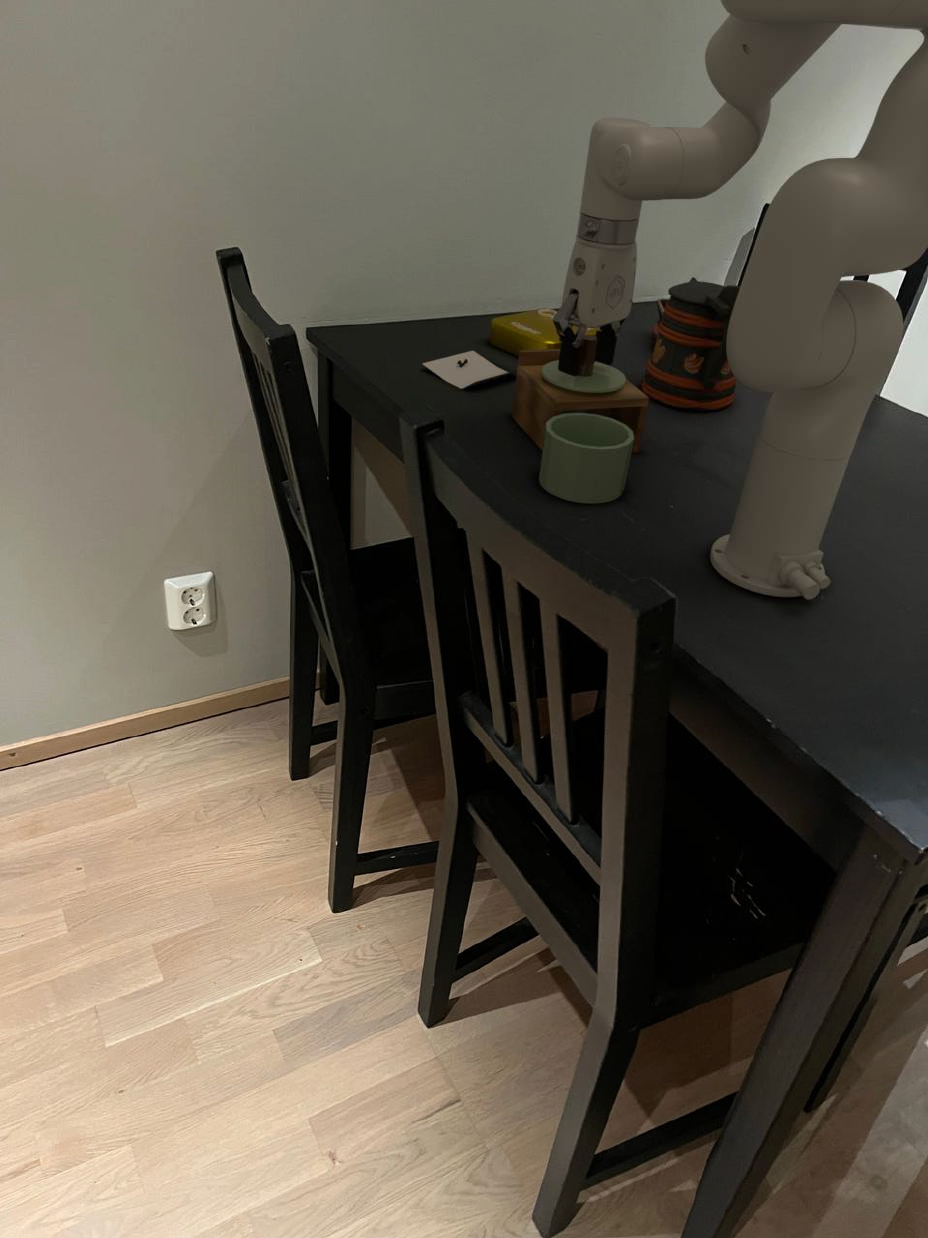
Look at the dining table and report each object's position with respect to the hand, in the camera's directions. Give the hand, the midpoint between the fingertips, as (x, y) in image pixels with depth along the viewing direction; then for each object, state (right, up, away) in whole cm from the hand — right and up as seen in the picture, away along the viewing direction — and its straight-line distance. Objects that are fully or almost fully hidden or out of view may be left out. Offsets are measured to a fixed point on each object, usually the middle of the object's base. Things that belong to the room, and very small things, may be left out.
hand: (585, 366), depth 126 cm
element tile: (-3, +13, +36) cm, 39 cm away
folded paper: (-15, +5, +23) cm, 28 cm away
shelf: (-1, -8, +6) cm, 10 cm away
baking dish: (+24, +14, +41) cm, 50 cm away
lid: (0, -1, +1) cm, 1 cm away
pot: (-2, -17, -7) cm, 19 cm away
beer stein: (+20, 0, +21) cm, 29 cm away
